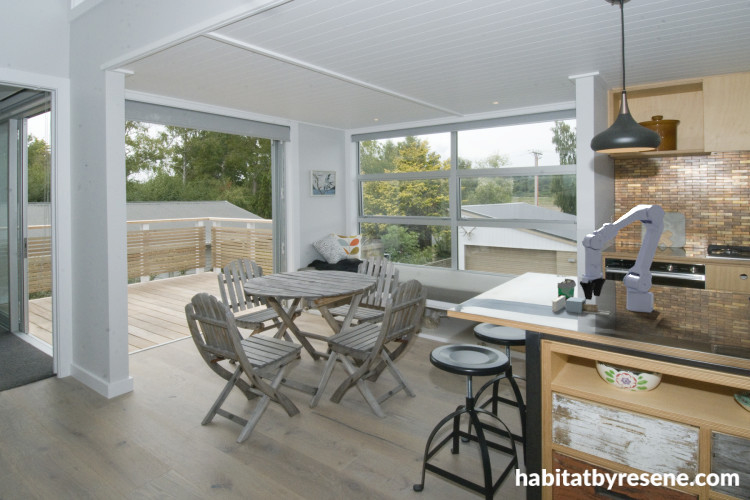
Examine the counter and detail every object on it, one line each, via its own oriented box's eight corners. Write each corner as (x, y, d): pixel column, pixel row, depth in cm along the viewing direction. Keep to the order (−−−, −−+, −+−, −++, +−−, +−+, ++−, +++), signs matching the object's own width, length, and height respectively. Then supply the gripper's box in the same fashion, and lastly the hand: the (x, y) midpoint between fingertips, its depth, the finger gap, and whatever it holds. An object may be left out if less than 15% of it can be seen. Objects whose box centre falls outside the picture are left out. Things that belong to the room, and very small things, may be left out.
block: (585, 312, 194) (586, 298, 193) (581, 316, 189) (581, 301, 188) (570, 310, 198) (570, 297, 197) (565, 314, 192) (565, 300, 192)
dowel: (597, 312, 189) (598, 305, 190) (595, 311, 187) (596, 304, 187) (576, 310, 194) (577, 303, 195) (574, 309, 192) (575, 302, 192)
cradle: (610, 315, 187) (610, 311, 187) (607, 318, 183) (607, 314, 183) (586, 313, 193) (586, 308, 193) (583, 315, 189) (583, 311, 189)
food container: (571, 306, 205) (572, 284, 203) (557, 305, 208) (557, 283, 207) (579, 300, 214) (579, 279, 213) (565, 299, 218) (565, 278, 217)
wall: (565, 308, 202) (565, 295, 201) (556, 314, 192) (556, 301, 192) (561, 308, 203) (561, 295, 202) (552, 314, 193) (552, 301, 193)
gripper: (590, 261, 195) (590, 293, 196) (574, 265, 185) (574, 299, 187) (608, 262, 189) (608, 295, 191) (592, 267, 180) (592, 302, 181)
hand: (592, 297), depth 188 cm, fingers open, 7 cm apart
